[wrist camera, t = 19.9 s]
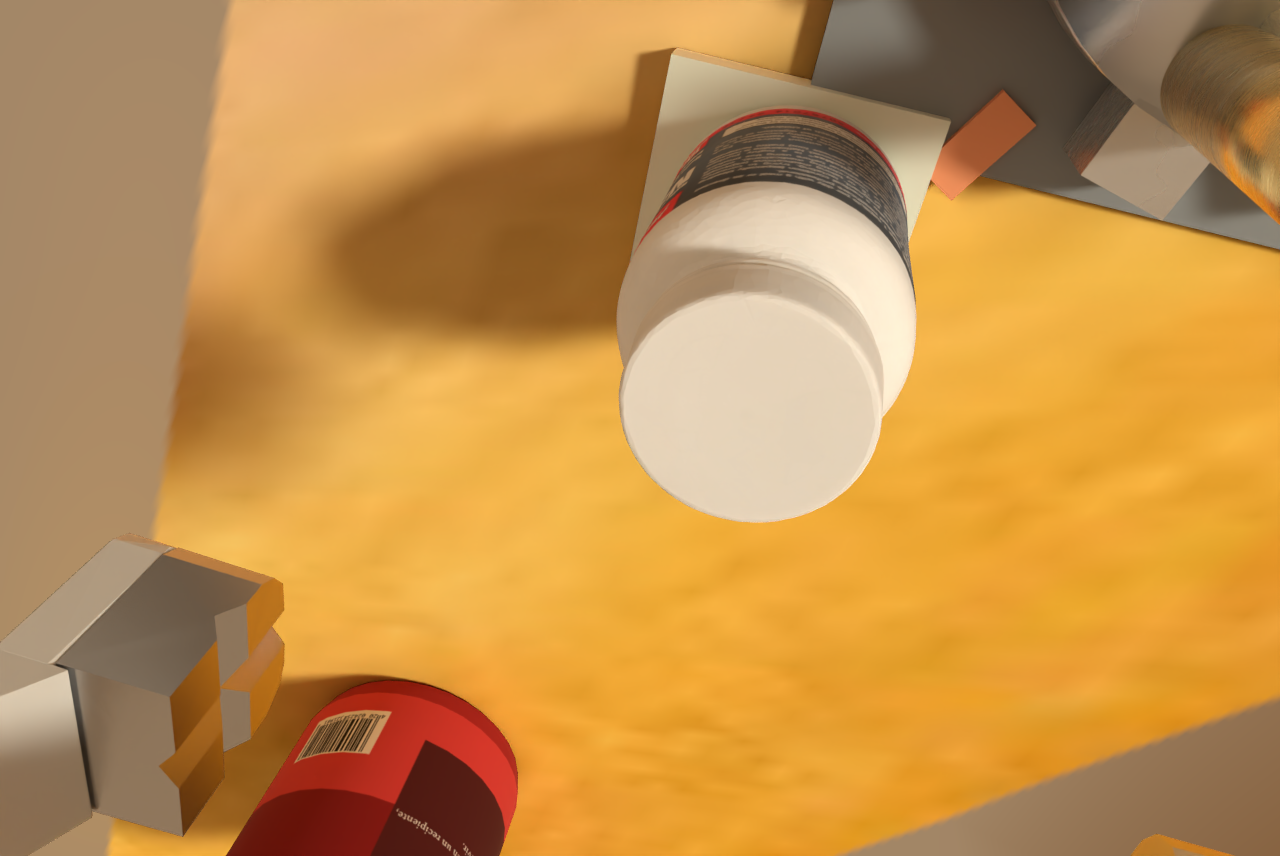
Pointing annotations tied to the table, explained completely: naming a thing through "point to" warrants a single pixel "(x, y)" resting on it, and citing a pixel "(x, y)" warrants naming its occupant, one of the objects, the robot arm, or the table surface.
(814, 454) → the pill bottle
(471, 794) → the canned food
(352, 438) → the table surface
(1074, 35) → the sprocket
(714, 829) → the table surface
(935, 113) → the gray square plate
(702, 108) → the pad
